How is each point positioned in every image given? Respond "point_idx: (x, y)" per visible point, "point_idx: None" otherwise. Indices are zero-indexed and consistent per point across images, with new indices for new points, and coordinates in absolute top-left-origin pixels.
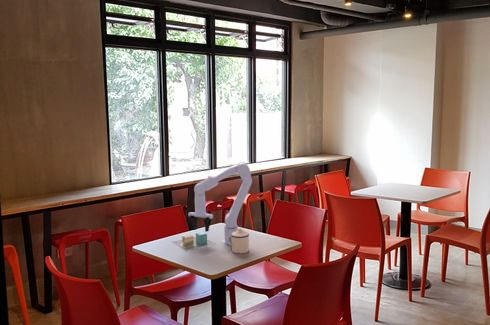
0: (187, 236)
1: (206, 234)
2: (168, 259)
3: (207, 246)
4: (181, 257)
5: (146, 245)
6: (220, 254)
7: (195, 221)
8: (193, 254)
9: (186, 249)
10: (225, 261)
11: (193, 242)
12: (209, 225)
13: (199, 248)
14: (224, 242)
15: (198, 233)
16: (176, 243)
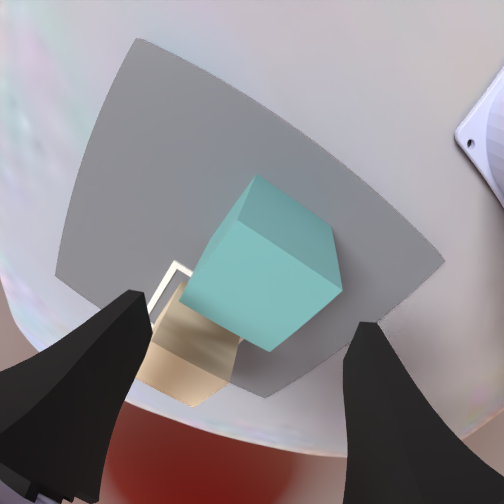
0: (184, 389)
1: (336, 288)
2: (242, 440)
3: (371, 316)
4: (281, 429)
5: (27, 324)
6: (462, 371)
7: (84, 413)
8: (321, 404)
9: (248, 382)
10: (473, 409)
11: (239, 337)
12: (414, 393)
13: (324, 359)
14: (488, 180)
15: (218, 303)
16: (103, 301)
